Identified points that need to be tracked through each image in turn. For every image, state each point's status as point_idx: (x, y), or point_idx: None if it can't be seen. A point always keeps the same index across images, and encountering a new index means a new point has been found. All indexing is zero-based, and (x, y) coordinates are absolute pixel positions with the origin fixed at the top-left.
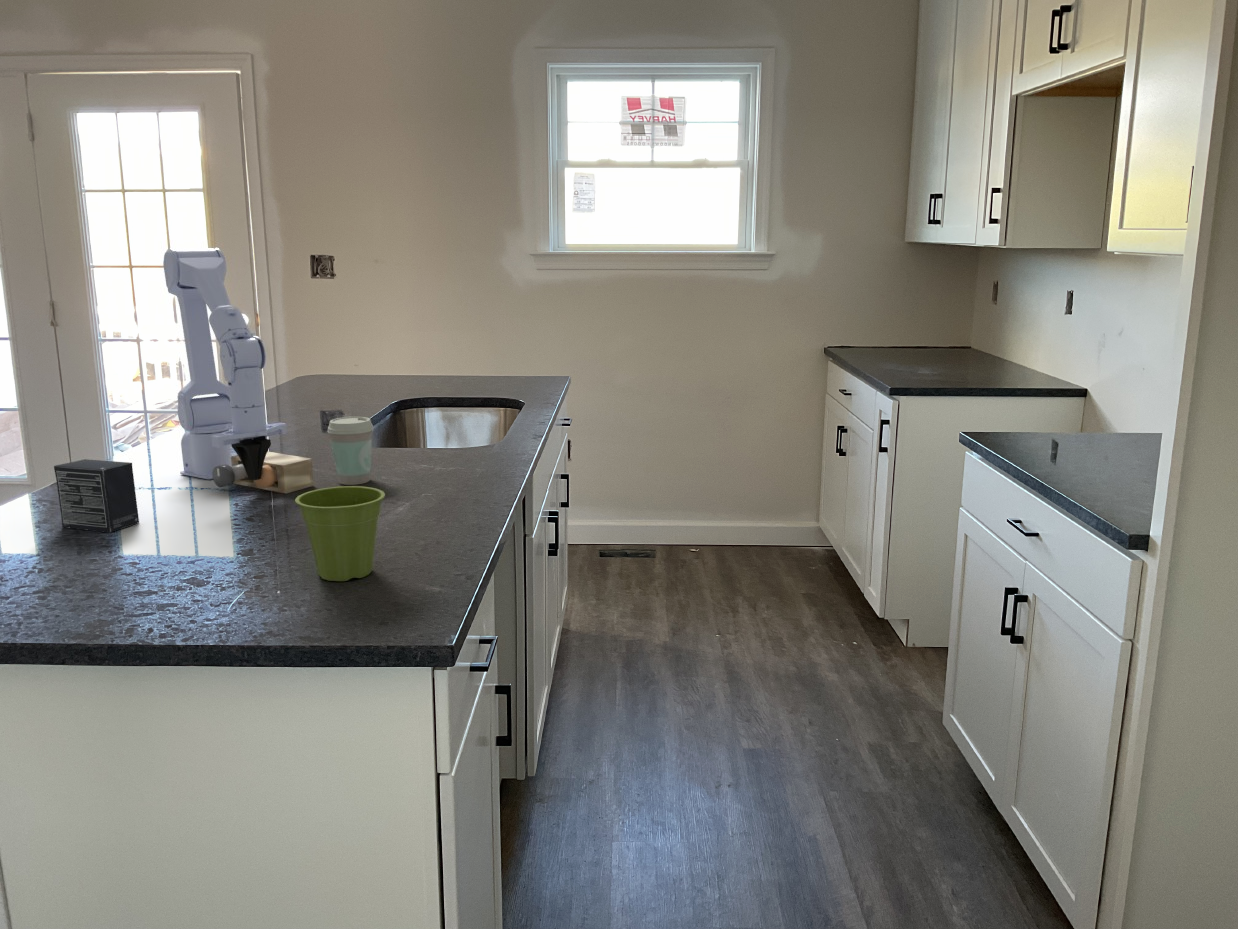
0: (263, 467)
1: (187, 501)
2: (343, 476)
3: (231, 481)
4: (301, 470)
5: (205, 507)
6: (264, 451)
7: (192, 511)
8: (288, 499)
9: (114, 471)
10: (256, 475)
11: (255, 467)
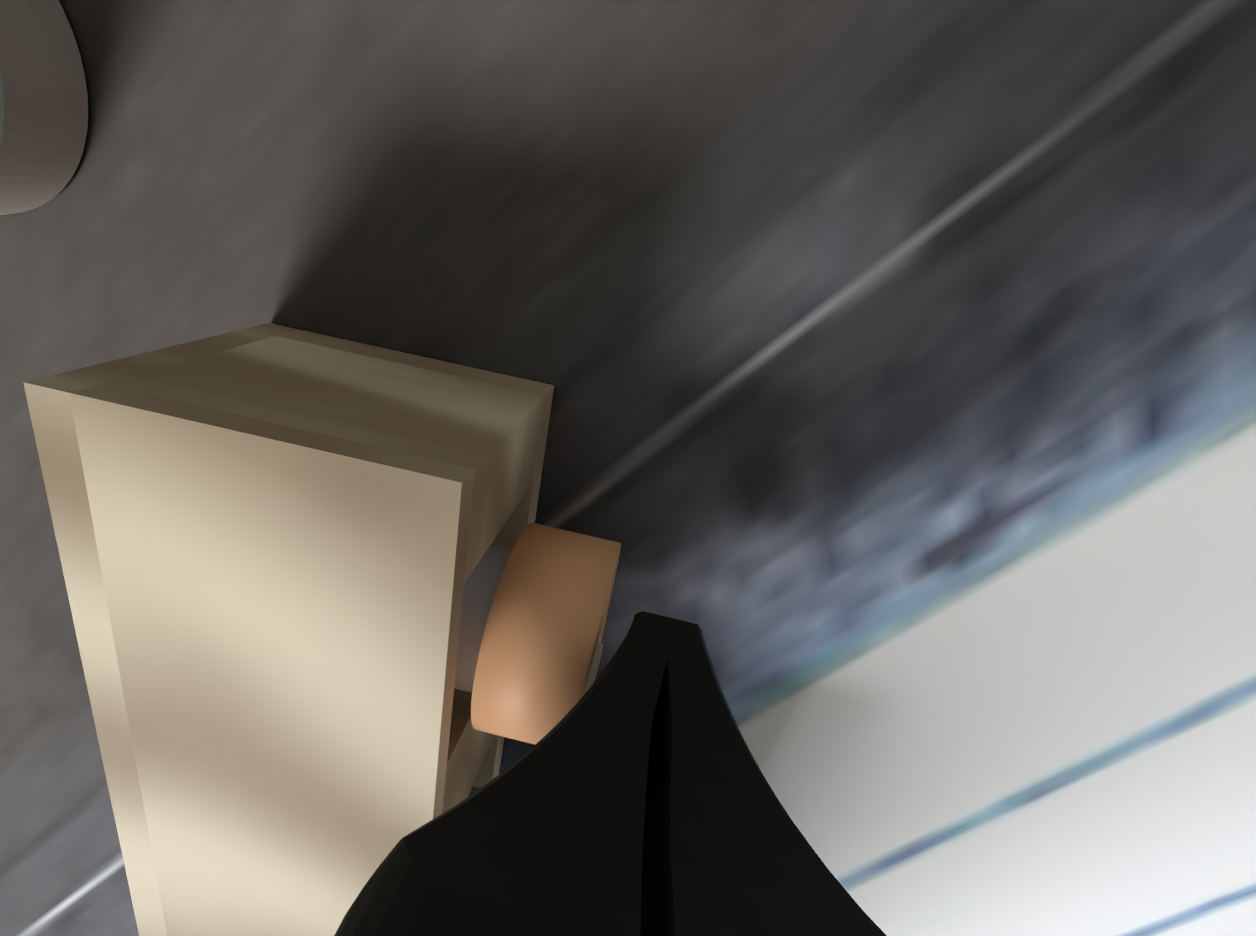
0: (558, 679)
1: (941, 862)
2: (3, 35)
3: None
4: (272, 389)
5: (1081, 696)
6: (558, 799)
7: (1207, 714)
8: (704, 229)
9: None
10: (693, 643)
11: (710, 700)
